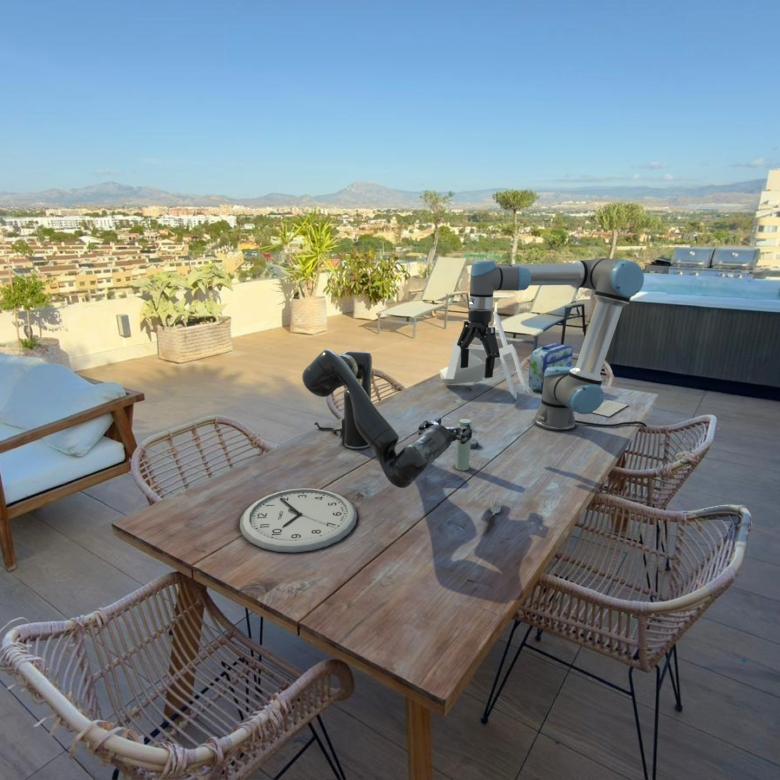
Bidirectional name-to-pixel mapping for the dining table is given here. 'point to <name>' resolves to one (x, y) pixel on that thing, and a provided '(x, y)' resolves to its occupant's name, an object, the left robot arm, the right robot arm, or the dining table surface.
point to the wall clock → (298, 520)
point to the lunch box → (547, 362)
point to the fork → (493, 510)
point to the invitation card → (609, 407)
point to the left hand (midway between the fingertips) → (453, 423)
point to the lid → (474, 443)
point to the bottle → (463, 449)
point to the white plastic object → (482, 363)
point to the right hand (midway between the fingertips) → (475, 372)
